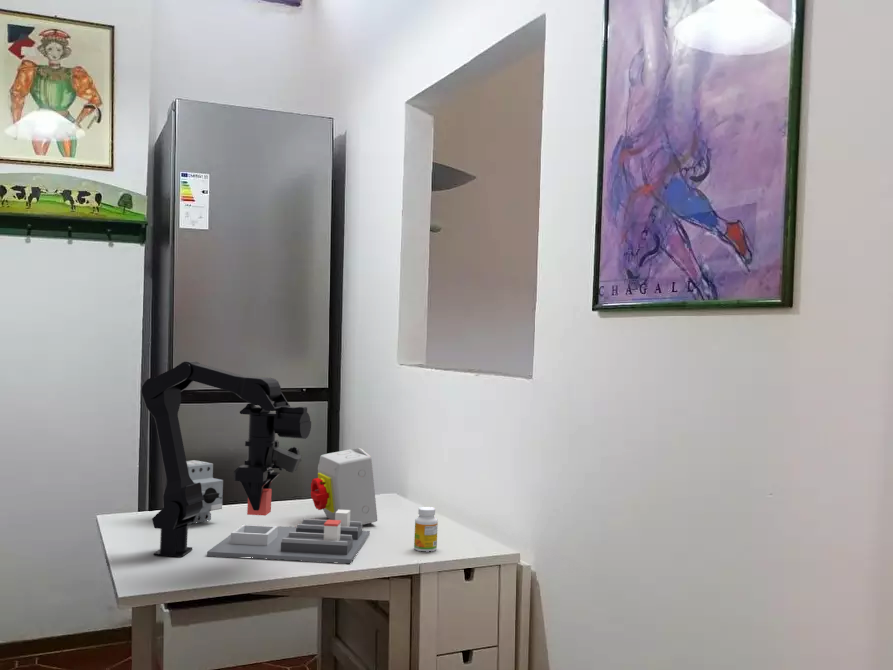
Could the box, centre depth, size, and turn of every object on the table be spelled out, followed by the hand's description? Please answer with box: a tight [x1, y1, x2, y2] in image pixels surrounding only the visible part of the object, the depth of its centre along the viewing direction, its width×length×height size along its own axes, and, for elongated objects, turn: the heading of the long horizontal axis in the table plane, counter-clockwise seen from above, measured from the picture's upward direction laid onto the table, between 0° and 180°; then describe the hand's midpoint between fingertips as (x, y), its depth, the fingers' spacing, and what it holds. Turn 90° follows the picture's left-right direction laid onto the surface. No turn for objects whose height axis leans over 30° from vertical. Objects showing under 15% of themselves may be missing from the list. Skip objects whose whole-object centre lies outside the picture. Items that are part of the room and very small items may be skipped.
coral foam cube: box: [246, 488, 273, 516], centre depth 174 cm, size 4×4×5 cm
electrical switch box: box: [310, 447, 378, 526], centre depth 215 cm, size 15×15×20 cm
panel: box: [206, 518, 371, 564], centre depth 191 cm, size 27×32×4 cm
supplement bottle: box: [413, 506, 439, 553], centre depth 191 cm, size 5×5×10 cm
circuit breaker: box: [186, 459, 224, 525], centre depth 210 cm, size 8×14×15 cm, turn 53°
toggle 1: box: [324, 519, 341, 541], centre depth 184 cm, size 4×3×4 cm
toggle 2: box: [335, 509, 350, 527], centre depth 198 cm, size 4×3×4 cm
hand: (259, 508), depth 174 cm, fingers closed on coral foam cube, 4 cm apart
